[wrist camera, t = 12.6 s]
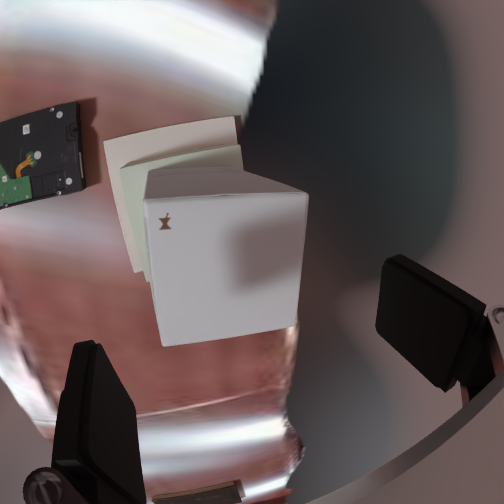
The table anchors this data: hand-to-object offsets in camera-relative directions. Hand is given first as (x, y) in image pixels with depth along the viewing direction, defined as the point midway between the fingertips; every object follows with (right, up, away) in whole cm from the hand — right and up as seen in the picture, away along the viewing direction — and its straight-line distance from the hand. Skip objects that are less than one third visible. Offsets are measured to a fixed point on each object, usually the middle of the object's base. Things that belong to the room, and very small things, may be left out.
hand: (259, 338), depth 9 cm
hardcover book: (-15, -66, +53) cm, 86 cm away
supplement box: (-5, +6, +16) cm, 18 cm away
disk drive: (-27, +14, +18) cm, 35 cm away
